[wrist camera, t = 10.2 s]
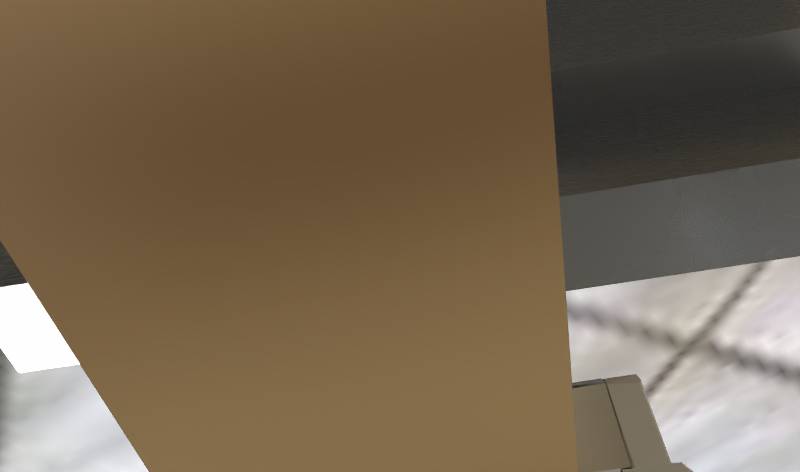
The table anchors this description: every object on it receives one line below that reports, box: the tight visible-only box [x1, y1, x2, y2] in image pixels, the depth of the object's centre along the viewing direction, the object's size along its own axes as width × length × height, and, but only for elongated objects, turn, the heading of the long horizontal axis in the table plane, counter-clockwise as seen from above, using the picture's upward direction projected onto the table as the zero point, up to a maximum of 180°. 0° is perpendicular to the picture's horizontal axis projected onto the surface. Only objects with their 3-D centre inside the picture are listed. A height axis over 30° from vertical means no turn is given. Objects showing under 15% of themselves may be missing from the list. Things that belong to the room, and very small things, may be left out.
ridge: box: [0, 0, 800, 373], centre depth 18 cm, size 10×20×8 cm, turn 100°
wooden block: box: [0, 0, 578, 472], centre depth 12 cm, size 24×4×6 cm, turn 10°
